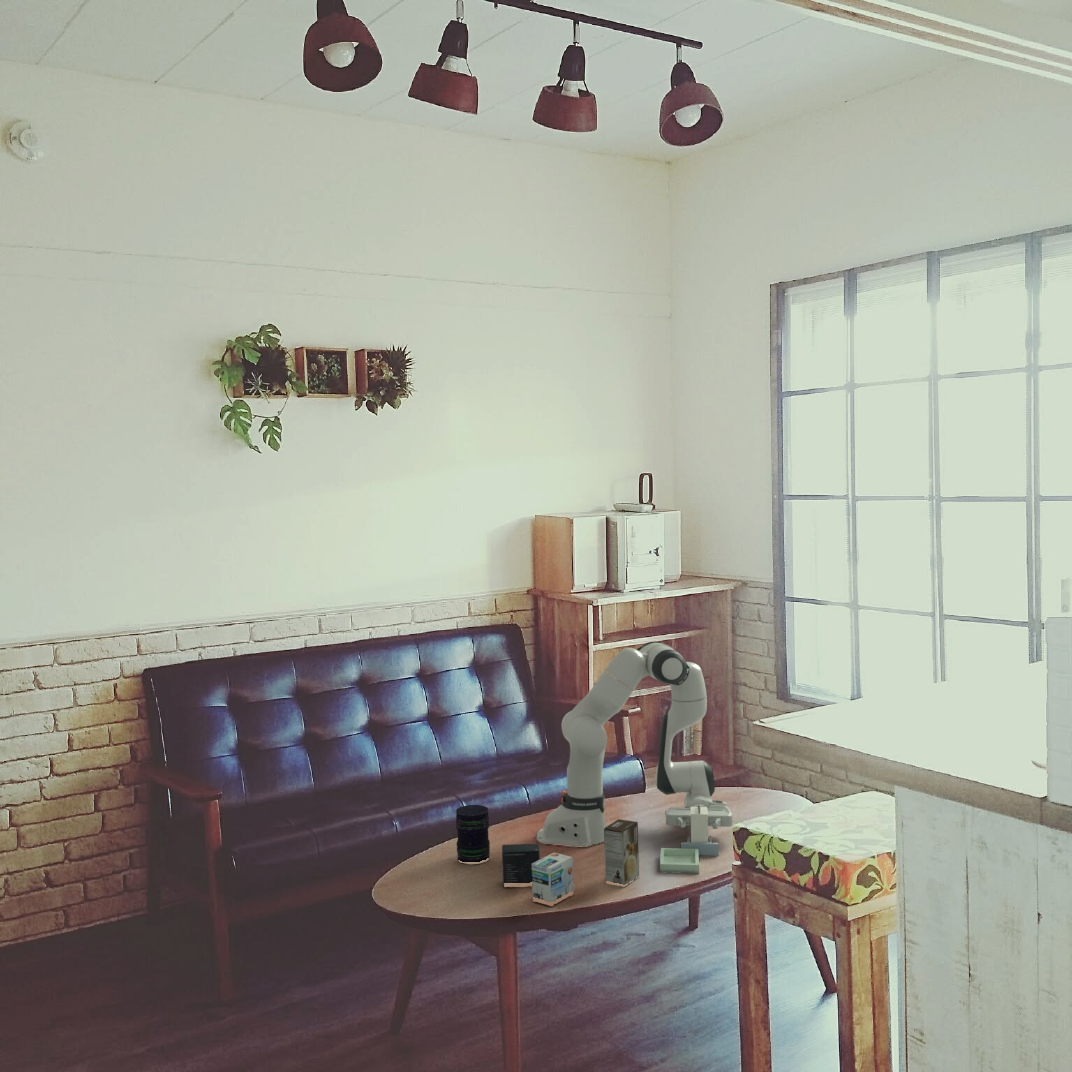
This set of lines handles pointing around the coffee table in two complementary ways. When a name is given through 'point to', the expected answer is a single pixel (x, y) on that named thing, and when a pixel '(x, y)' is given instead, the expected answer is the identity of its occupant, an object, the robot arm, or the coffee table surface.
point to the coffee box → (621, 851)
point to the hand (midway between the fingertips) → (699, 825)
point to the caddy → (699, 824)
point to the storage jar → (472, 833)
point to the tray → (679, 860)
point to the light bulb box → (552, 877)
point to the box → (519, 862)
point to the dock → (702, 847)
